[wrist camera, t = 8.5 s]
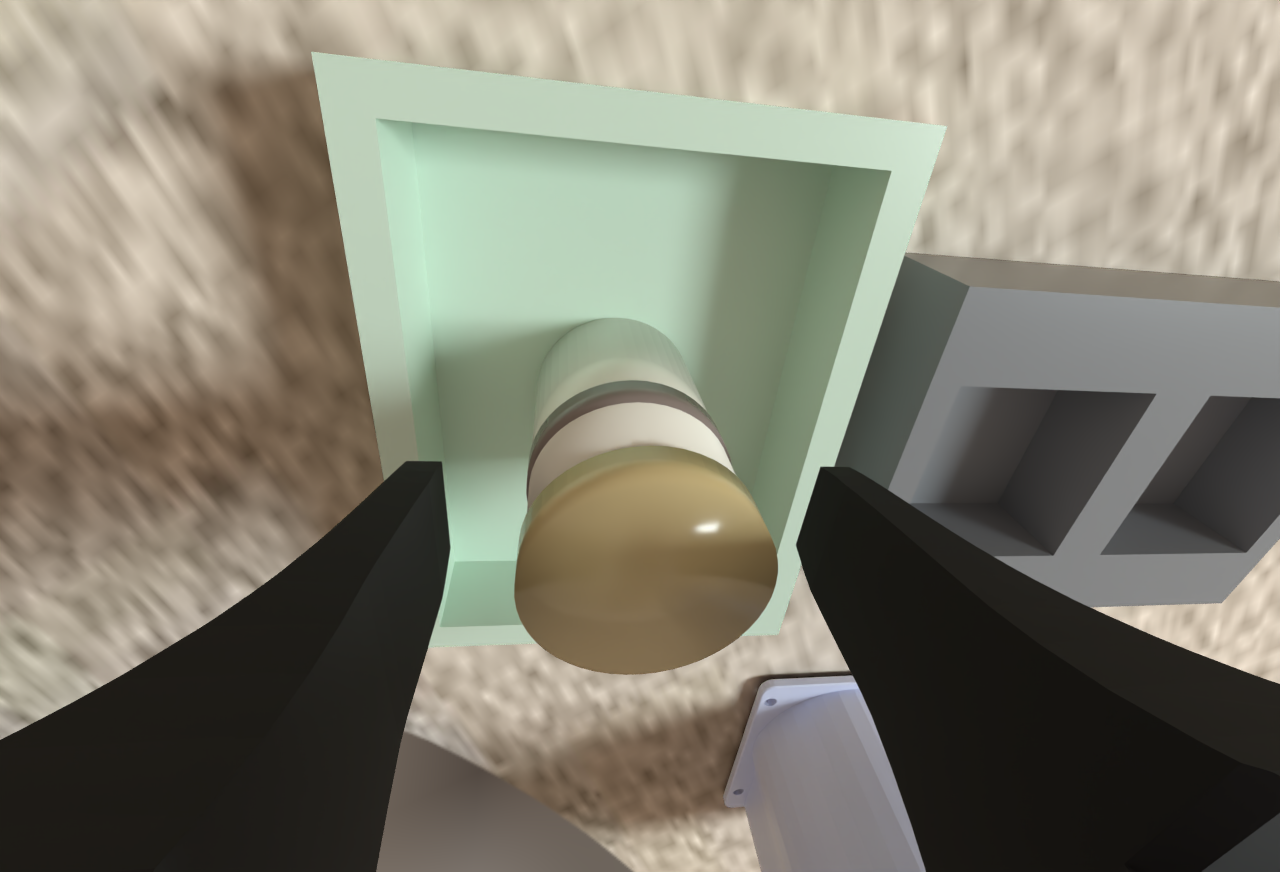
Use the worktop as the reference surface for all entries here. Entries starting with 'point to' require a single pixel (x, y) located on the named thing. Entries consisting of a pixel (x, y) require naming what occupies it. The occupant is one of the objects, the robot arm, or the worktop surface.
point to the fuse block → (1081, 421)
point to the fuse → (634, 511)
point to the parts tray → (607, 279)
